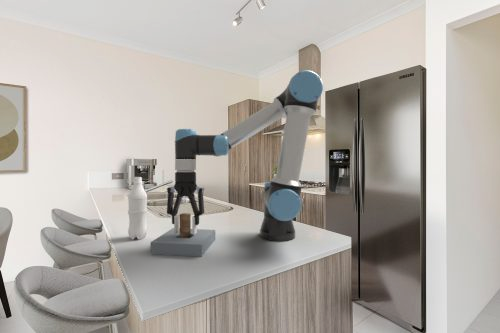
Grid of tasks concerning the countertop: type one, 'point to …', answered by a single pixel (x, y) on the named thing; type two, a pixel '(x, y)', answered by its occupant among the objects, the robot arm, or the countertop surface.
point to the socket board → (183, 243)
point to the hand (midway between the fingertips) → (185, 233)
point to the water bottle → (137, 210)
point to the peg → (185, 225)
